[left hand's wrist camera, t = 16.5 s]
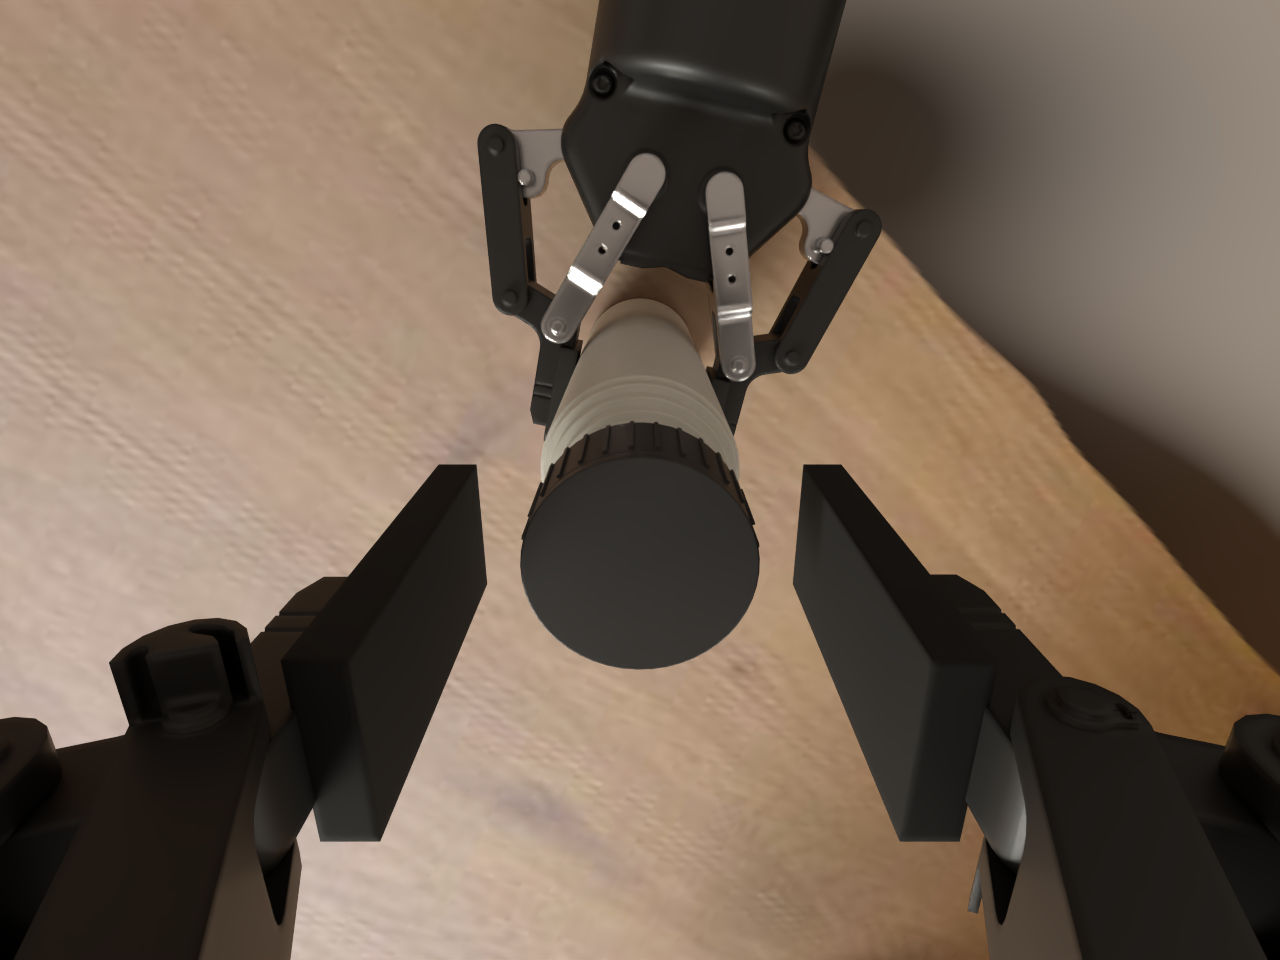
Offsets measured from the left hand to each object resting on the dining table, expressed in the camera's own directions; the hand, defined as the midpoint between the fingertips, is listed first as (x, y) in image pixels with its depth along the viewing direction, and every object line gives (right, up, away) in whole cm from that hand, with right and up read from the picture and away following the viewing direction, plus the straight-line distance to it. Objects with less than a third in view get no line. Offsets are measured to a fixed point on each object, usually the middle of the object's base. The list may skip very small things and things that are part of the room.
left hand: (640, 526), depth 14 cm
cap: (0, -1, -1) cm, 2 cm away
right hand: (-1, +2, +13) cm, 13 cm away
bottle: (0, +7, +18) cm, 19 cm away
